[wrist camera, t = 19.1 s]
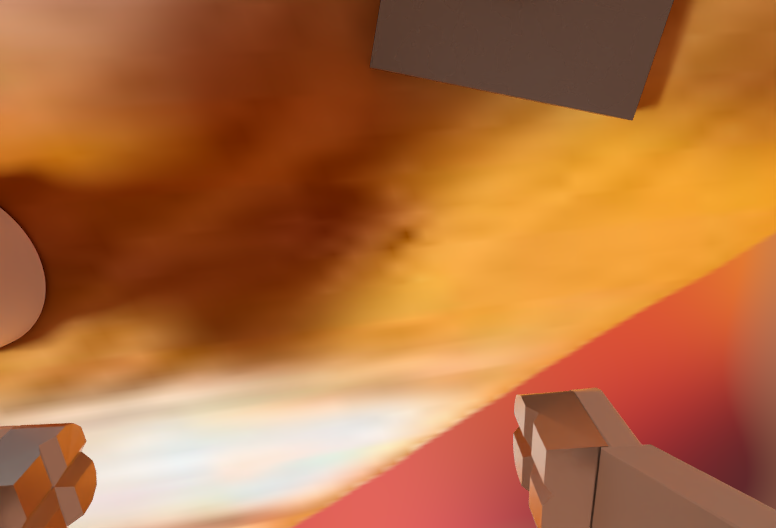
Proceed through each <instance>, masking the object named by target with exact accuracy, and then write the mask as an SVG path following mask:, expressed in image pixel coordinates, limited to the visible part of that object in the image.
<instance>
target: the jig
mask: <svg viewBox="0 0 776 528" xmlns="http://www.w3.org/2000/svg"><path fill="white" fill-rule="evenodd" d="M673 1H674V0H381V2H380V8H379V14H378V20H377V26H376V32H375V38H374V44H373V50H372V56H371V62H370V68H373V69H378V70H383V71H388V72H393V73H398V74H403V75H408V76H413V77H418V78H423V79H428V80H432V81H437V82H442V83H447V84H452V85H457V86H462V87H467V88H472V89H477V90H482V91H487V92H492V93H496V94H501V95H506V96H511V97H516V98H521V99H526V100H531V101H536V102H541V103H546V104H551V105H556V106H561V107H565V108H570V109H575V110H580V111H585V112H590V113H595V114H600V115H605V116H610V117H616V118H622V119H627V120H633V118H634V115H635V112H636V109H637V106H638V103H639V100H640V97H641V94H642V91H643V88H644V85H645V83H646V80H647V77H648V74H649V71H650V68H651V65H652V62H653V59H654V56H655V53H656V50H657V47H658V45H659V42H660V39H661V36H662V33H663V30H664V27H665V24H666V21H667V18H668V15H669V12H670V9H671V7H672V4H673Z"/></svg>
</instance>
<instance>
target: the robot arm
mask: <svg viewBox="0 0 776 528" xmlns="http://www.w3.org/2000/svg"><path fill="white" fill-rule="evenodd" d="M45 293H46V284H45V276H44V271H43V267H42V264H41V261H40V258H39V256H38V253H37V251H36V249H35V247H34V246H33V244H32V242H31V241H30V239H29V238H28V236H27V235H26V233H25V232H24V231H23V229H22V228H21V227H20V226H19V225H18V224H17V223H16V222H15V220H14V219H13V218H12V217H10V216H9V215H8V214H7V213H6V212H5V211H4V210H3V209H1V208H0V347H2V346H5V345H7V344H9V343H11V342H13V341H15V340H17V339H19V338H20V337H22V336H23V335H24V334H25V333H27V332H28V331H29V330H30V329H31V327H32V326H33V325H34V324H35V322H36V321H37V319H38V318H39V316H40V313H41V311H42V308H43V305H44V301H45ZM514 414H515V417H516V419H517V422H518V424H519V427H518V429H517V430H516V431H515V432H514V435H513V436H514V437H513V438H514V439H513V442H514V443H513V449H514V458H515V465H516V469H517V473H518V476H519V480H520V482H521V485H522V486H523V487H524V488H525V489H527V490H528V491H529V507H530V510H531V513H532V515H533V518H534V521H535V523H536V526H537V528H776V510H775V509H772V508H771V507H769V506H767V505H765V504H763V503H761V502H759V501H758V500H756V499H754V498H752V497H750V496H748V495H746V494H744V493H742V492H740V491H738V490H736V489H734V488H732V487H731V486H729V485H727V484H725V483H723V482H721V481H719V480H717V479H715V478H714V477H712V476H710V475H708V474H706V473H704V472H702V471H700V470H698V469H696V468H694V467H692V466H691V465H689V464H687V463H685V462H683V461H681V460H679V459H677V458H675V457H673V456H671V455H669V454H668V453H666V452H664V451H662V450H660V449H658V448H656V447H654V446H652V445H642V444H641V443H640V442H639V441H638V439H637V438H636V437H635V435H634V434H633V432H632V431H631V430H630V428H629V427H628V426H627V424H626V423H625V422H624V420H623V419H622V418H621V416H620V415H619V413H618V412H617V411H616V409H615V408H614V407H613V405H612V404H611V403H610V401H609V400H608V399H607V397H606V396H605V395H604V393H603V392H602V391H601V390H600V389H598V388H588V389H577V390H570V391H563V392H550V393H536V394H523V395H517V396H516V400H515V410H514ZM85 443H86V439H85V436H84V433H83V431H82V428H81V427H80V426H78V425H76V424H74V423H63V424H40V425H21V426H2V427H0V528H68V526H69V525H70V524H71V523H73V522H74V521H76V520H77V519H78V518H80V517H81V516H83V515H84V513H85V512H86V510H87V509H88V507H89V505H90V504H91V502H92V500H93V496H94V492H95V489H96V485H97V481H96V470H95V466H94V463H93V461H92V460H91V459H90V458H89V457H87V456H86V455H85V454H84V453H83V452H81V451H82V449H83V447H84V445H85Z"/></svg>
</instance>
